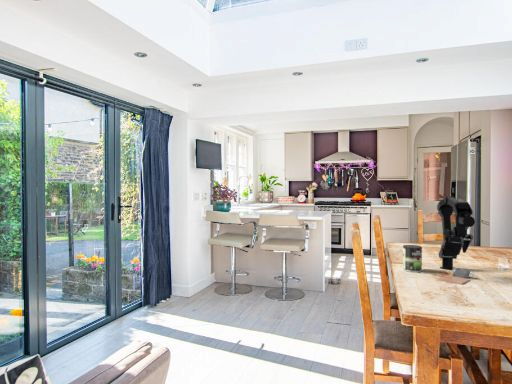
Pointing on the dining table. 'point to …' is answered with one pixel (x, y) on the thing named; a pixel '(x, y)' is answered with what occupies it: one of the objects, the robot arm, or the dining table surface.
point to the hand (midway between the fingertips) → (461, 253)
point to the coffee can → (412, 258)
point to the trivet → (453, 279)
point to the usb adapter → (462, 273)
